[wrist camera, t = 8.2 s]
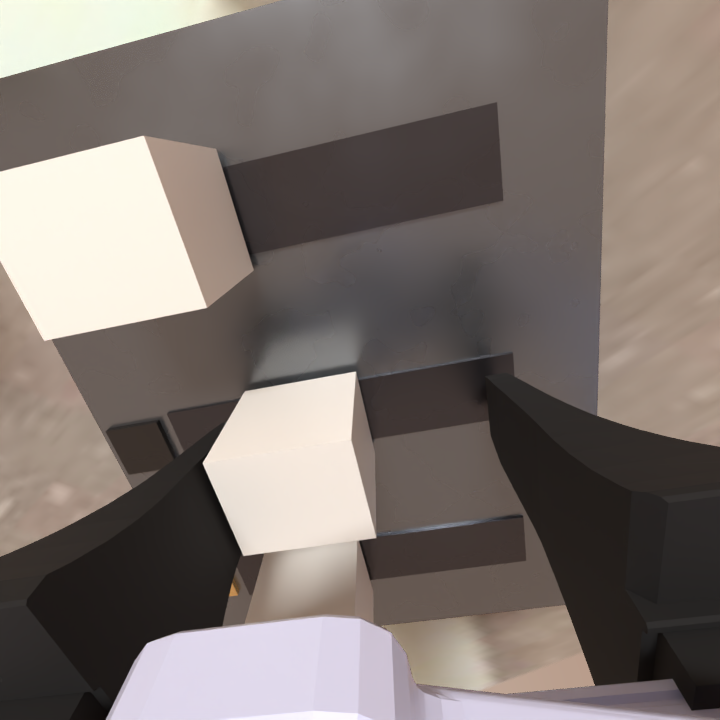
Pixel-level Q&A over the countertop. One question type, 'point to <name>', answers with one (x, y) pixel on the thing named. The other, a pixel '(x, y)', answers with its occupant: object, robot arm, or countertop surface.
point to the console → (366, 252)
